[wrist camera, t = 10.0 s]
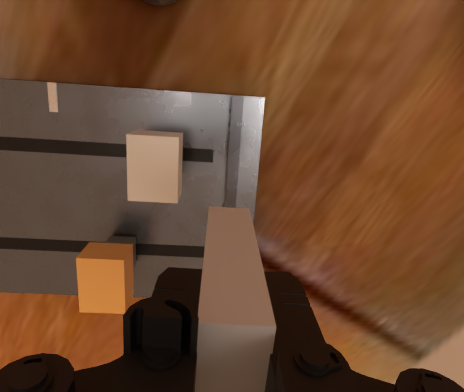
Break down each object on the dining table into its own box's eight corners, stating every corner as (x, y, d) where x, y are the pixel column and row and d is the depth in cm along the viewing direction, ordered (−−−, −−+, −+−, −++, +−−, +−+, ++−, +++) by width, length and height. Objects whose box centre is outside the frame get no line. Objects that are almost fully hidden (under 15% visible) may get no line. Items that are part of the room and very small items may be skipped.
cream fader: (145, 125, 25) (126, 134, 20) (187, 127, 25) (178, 137, 20) (145, 179, 26) (127, 200, 21) (185, 181, 26) (177, 203, 21)
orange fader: (103, 226, 27) (75, 258, 22) (141, 227, 27) (123, 260, 22) (105, 271, 28) (79, 312, 23) (142, 273, 28) (125, 313, 23)
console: (-89, 72, 25) (-128, 70, 22) (261, 97, 27) (266, 97, 24) (-50, 277, 30) (-78, 296, 27) (244, 288, 32) (247, 308, 29)
